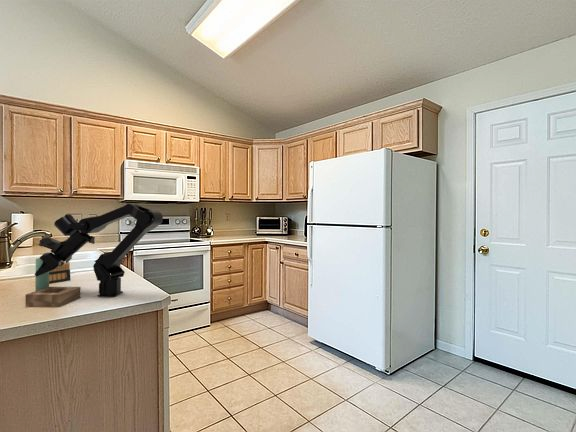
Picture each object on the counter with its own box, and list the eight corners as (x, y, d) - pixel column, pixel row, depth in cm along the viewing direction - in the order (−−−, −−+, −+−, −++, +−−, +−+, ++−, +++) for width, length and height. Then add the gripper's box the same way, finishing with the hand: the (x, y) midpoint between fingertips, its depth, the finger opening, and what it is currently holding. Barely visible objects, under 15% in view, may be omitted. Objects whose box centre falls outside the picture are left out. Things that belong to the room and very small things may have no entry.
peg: (51, 290, 119) (51, 257, 119) (43, 293, 115) (44, 259, 115) (40, 290, 119) (41, 257, 119) (32, 293, 115) (32, 259, 115)
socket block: (80, 297, 115) (80, 286, 115) (59, 306, 104) (59, 294, 104) (49, 297, 115) (49, 286, 115) (25, 306, 104) (25, 294, 104)
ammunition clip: (43, 284, 134) (43, 256, 133) (41, 284, 134) (41, 256, 134) (70, 280, 143) (70, 254, 143) (68, 279, 144) (68, 253, 144)
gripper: (62, 228, 127) (28, 256, 123) (47, 230, 110) (7, 263, 106) (85, 247, 130) (52, 275, 126) (73, 252, 113) (35, 285, 109)
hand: (37, 274), depth 116 cm, fingers closed on peg, 4 cm apart
